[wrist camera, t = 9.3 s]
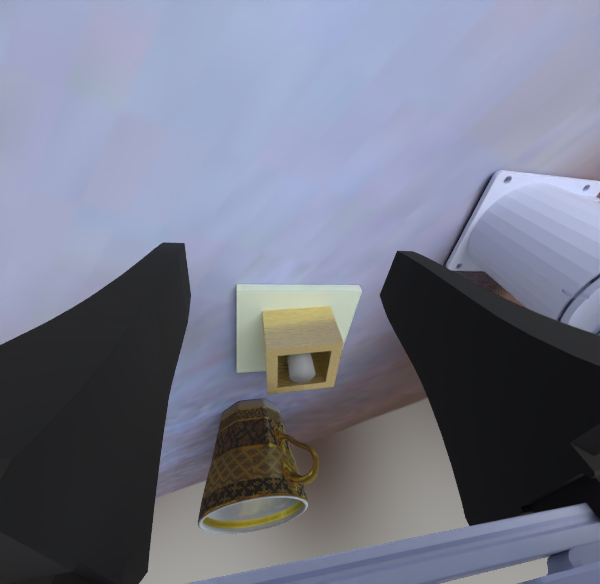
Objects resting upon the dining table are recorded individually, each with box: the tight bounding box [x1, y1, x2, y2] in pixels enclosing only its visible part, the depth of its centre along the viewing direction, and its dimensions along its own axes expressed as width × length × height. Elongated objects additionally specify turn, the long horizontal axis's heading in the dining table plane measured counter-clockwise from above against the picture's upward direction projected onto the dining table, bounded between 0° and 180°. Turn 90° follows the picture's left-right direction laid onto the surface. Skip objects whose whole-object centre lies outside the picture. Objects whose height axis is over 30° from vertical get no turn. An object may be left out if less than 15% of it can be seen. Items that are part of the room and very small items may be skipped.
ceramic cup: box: [198, 399, 319, 534], centre depth 30 cm, size 13×10×10 cm
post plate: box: [237, 284, 362, 383], centre depth 24 cm, size 10×10×5 cm
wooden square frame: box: [263, 306, 344, 394], centre depth 24 cm, size 6×6×4 cm
